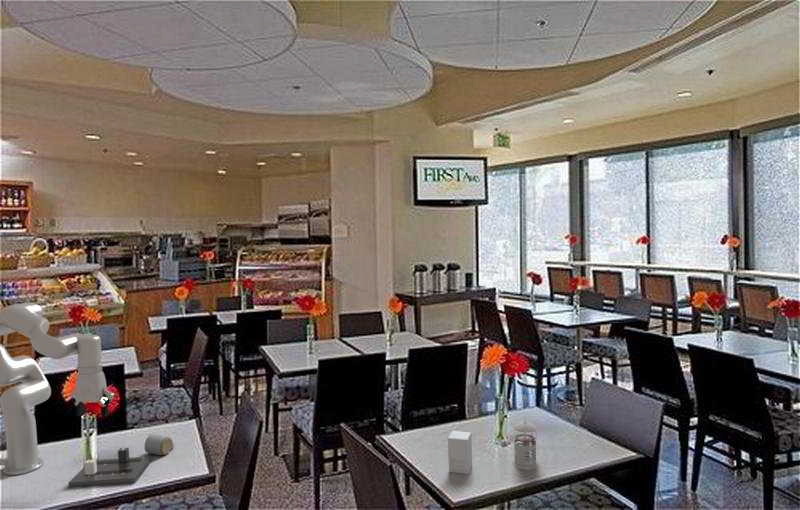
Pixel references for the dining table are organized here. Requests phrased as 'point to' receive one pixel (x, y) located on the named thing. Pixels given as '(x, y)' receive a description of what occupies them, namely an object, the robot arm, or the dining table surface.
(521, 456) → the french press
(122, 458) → the black fader
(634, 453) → the dining table surface
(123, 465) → the grey slider board
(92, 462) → the white upright block
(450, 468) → the supplement box
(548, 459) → the dining table surface
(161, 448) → the grey cylinder
